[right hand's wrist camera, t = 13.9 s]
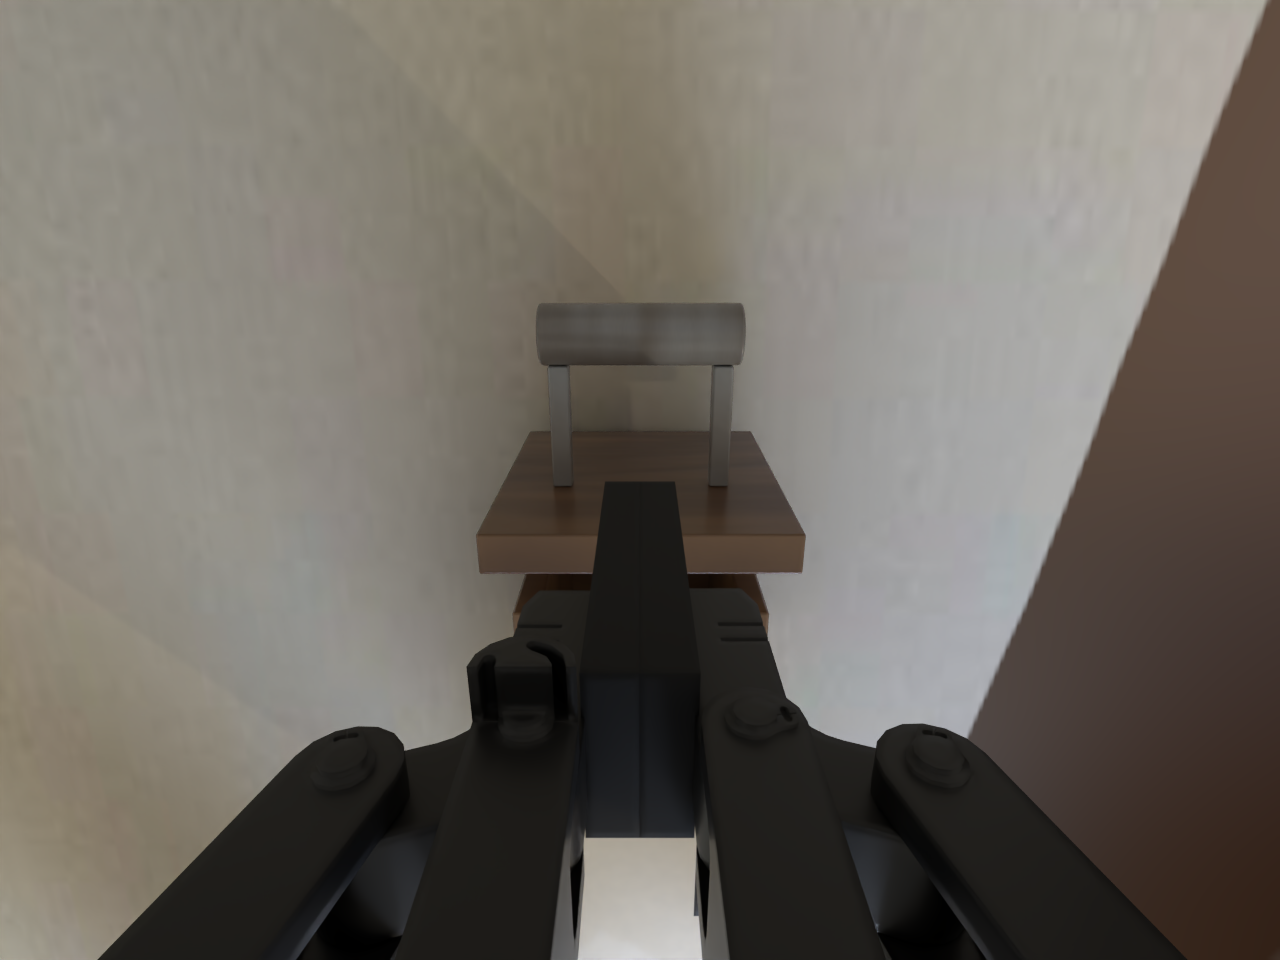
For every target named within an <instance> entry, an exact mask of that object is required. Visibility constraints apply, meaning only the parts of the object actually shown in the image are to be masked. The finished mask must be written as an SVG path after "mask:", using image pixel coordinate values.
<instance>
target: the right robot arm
mask: <svg viewBox="0 0 1280 960" xmlns="http://www.w3.org/2000/svg"><path fill="white" fill-rule="evenodd" d="M467 675H468V684H469V693H470V702H471V711H472V720H473V722H472V725H471V728H470V729H469V730H468V731H466V732H464V733H462V734H460V735H458V736H456V737H454V738H452V739H449V740H446V741H442V742H439V743H436V744H432V745H428V746H423V747H419V748H415V749H411V750H407V751H404V746H403V743H402V742H401V741H400V740H399V739H398V737H397V736H396V735H395V734H394V733H392V732H390V731H387V730H384V729H382V728H379V727H353V728H349V729H344V730H340V731H335V732H333V733H331V734H329V735H327V736H325V737H323V738H320V739H318V740H316V741H314V742H313V743H311V744H310V745H309V746H307V747H306V748H305V749H304V750H302V751H301V752H300V753H299V754H297V755H296V756H295V757H294V758H293V759H292V760H291V761H290V762H289V763H288V764H287V765H286V766H285V767H284V768H283V769H282V770H281V771H280V772H279V773H278V774H277V775H276V776H275V777H274V778H273V779H272V781H271V782H270V783H269V784H268V785H267V786H266V787H265V788H264V789H263V790H262V791H261V792H260V793H259V794H258V795H257V796H256V797H255V798H254V799H253V800H252V801H251V802H250V803H249V804H248V805H247V806H246V807H245V808H244V809H243V810H242V811H241V812H240V813H239V815H238V816H237V817H236V818H235V819H234V820H233V821H232V822H231V823H230V824H229V825H228V826H227V827H226V828H225V829H224V830H223V831H222V832H221V833H220V834H219V835H218V836H217V837H216V838H215V839H214V840H213V841H212V842H211V843H210V844H209V845H208V846H207V847H206V848H205V850H204V851H203V852H202V853H201V854H200V855H199V856H198V857H197V858H196V859H195V860H194V861H193V862H192V863H191V864H190V865H189V866H188V867H187V868H186V869H185V870H184V871H183V872H182V873H181V874H180V875H179V876H178V877H177V878H176V879H175V880H174V881H173V882H172V884H171V885H170V886H169V887H168V888H167V889H166V890H165V891H164V892H163V893H162V894H161V895H160V896H159V897H158V898H157V899H156V900H155V901H154V902H153V903H152V904H151V905H150V906H149V907H148V908H147V909H146V910H145V911H144V912H143V913H142V914H141V915H140V916H139V917H138V919H137V920H136V921H135V922H134V923H133V924H132V925H131V926H130V927H129V928H128V929H127V930H126V931H125V932H124V933H123V934H122V935H121V936H120V937H119V938H118V939H117V940H116V941H115V942H114V943H113V944H112V945H111V946H110V947H109V948H108V949H107V950H106V951H105V953H104V954H103V955H102V956H101V957H100V958H99V959H98V960H578V951H579V938H580V926H581V914H582V902H583V889H584V877H585V870H584V836H585V835H586V838H694V835H695V832H696V843H697V846H696V870H695V895H694V916H699V925H700V938H701V950H702V960H1187V959H1186V958H1185V957H1184V956H1183V955H1182V954H1181V953H1180V952H1179V951H1178V950H1177V949H1176V947H1175V946H1173V944H1172V943H1171V942H1170V941H1169V940H1168V939H1167V938H1166V937H1165V936H1164V935H1163V934H1162V933H1161V932H1160V931H1159V930H1158V929H1157V928H1156V927H1155V926H1154V925H1153V924H1152V923H1151V922H1150V921H1149V920H1148V919H1147V918H1146V917H1145V916H1144V915H1143V914H1142V913H1141V912H1140V911H1139V910H1138V909H1137V908H1136V907H1135V906H1134V905H1133V904H1132V902H1131V901H1130V900H1129V899H1128V898H1127V897H1126V896H1125V895H1124V894H1123V893H1122V892H1121V891H1120V890H1119V889H1118V888H1117V887H1116V886H1115V885H1114V884H1113V883H1112V882H1111V881H1110V880H1109V879H1108V878H1107V877H1106V876H1105V875H1104V874H1103V873H1102V872H1101V871H1100V870H1099V869H1098V868H1097V867H1096V866H1095V865H1094V864H1093V863H1092V862H1091V861H1090V860H1089V859H1088V858H1087V856H1086V855H1085V854H1084V853H1083V852H1082V851H1081V850H1080V849H1079V848H1078V847H1077V846H1076V845H1075V844H1074V843H1073V842H1072V841H1071V840H1070V839H1069V838H1068V837H1067V836H1066V835H1065V834H1064V833H1063V832H1062V831H1061V830H1060V829H1059V828H1058V827H1057V826H1056V825H1055V824H1054V823H1053V822H1052V821H1051V820H1050V819H1049V818H1048V817H1047V816H1046V815H1045V814H1044V813H1043V811H1042V810H1041V809H1040V808H1039V807H1038V806H1037V805H1036V804H1035V803H1034V802H1033V801H1032V800H1031V799H1030V798H1029V797H1028V796H1027V795H1026V794H1025V793H1024V792H1023V791H1022V790H1021V789H1020V788H1019V787H1018V786H1017V785H1016V784H1015V783H1014V782H1013V781H1012V780H1011V779H1010V778H1009V777H1008V776H1007V775H1006V774H1005V773H1004V772H1003V771H1002V770H1001V769H1000V767H998V765H997V764H996V763H995V762H994V761H993V760H992V759H991V758H990V757H989V756H988V755H987V754H986V753H985V752H983V751H982V750H981V749H979V748H978V747H977V746H976V745H974V744H973V743H972V742H971V741H969V740H968V739H966V738H964V737H962V736H960V735H958V734H956V733H954V732H951V731H949V730H947V729H945V728H940V727H936V726H931V725H927V724H902V725H899V726H896V727H894V728H891V729H889V730H886V731H885V733H884V734H883V735H882V736H881V737H880V739H879V740H878V741H877V746H876V748H872V747H868V746H864V745H860V744H856V743H851V742H847V741H843V740H840V739H837V738H834V737H831V736H827V735H825V734H823V733H821V732H819V731H817V730H815V729H813V728H812V727H810V726H809V724H808V721H807V720H806V718H805V716H804V715H803V713H802V712H801V710H800V708H799V707H798V706H796V705H795V704H794V703H792V702H791V701H790V700H788V699H787V698H786V696H785V692H784V689H783V686H782V682H781V679H780V676H779V673H778V669H777V666H776V663H775V660H774V656H773V653H772V650H771V647H770V643H769V641H768V637H767V634H766V630H765V627H764V626H763V621H762V617H761V614H760V611H759V607H758V604H757V603H756V602H755V601H754V600H753V599H752V598H750V597H749V596H748V595H747V594H746V593H745V592H744V591H743V590H742V589H741V588H689V582H688V574H687V567H686V560H685V552H684V545H683V537H682V530H681V522H680V515H679V508H678V500H677V493H676V485H675V481H605V485H604V493H603V500H602V508H601V515H600V522H599V530H598V537H597V545H596V552H595V560H594V567H593V574H592V582H591V589H590V590H539V591H538V592H537V593H536V594H535V595H534V596H533V597H532V598H531V599H530V600H529V601H528V602H527V603H526V604H525V605H523V607H522V610H521V613H520V617H519V620H518V623H517V628H516V630H515V633H514V636H513V637H509V638H507V639H504V640H501V641H498V642H495V643H492V644H490V645H488V646H487V647H485V648H484V649H482V650H481V651H479V652H478V653H476V654H475V656H474V657H473V658H472V660H471V661H470V663H469V664H468V665H467Z"/></svg>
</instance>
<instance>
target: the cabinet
mask: <svg viewBox="0 0 1280 960" xmlns="http://www.w3.org/2000/svg"><path fill="white" fill-rule="evenodd" d="M696 846H697V843H696V832H695V835H694V838H586V835H585V836H584V870H585V877H584V889H583V902H582V914H581V926H580V938H579V951H578V960H702V950H701V938H700V925H699V916H694V895H695V870H696Z"/></svg>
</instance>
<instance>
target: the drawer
mask: <svg viewBox="0 0 1280 960" xmlns="http://www.w3.org/2000/svg"><path fill="white" fill-rule="evenodd" d="M745 333H746V324H745V311H744V307H743V305H742V304H741V303H541V304H539V306H538V309H537V316H536V343H537V352H538V357H539V361H540V363H541V364H542V365H549V366H548V386H549V406H550V427H551V432H530V433H529V435H528V437H527V439H526V441H525V443H524V445H523V447H522V449H521V451H520V453H519V454H518V456H517V458H516V460H515V462H514V464H513V466H512V468H511V470H510V472H509V474H508V475H507V477H506V479H505V481H504V483H503V485H502V487H501V489H500V491H499V493H498V495H497V496H496V498H495V500H494V502H493V504H492V506H491V508H490V510H489V512H488V514H487V516H486V518H485V519H484V521H483V523H482V525H481V527H480V529H479V531H478V533H477V535H476V540H477V551H478V561H479V571H480V573H481V574H525V578H524V581H523V584H522V587H521V590H520V593H519V596H518V599H517V602H516V605H515V608H514V611H513V625H514V633H515V630H516V628H517V623H518V620H519V617H520V613H521V610H522V607H523V605H525V604H526V603H527V602H528V601H529V600H530V599H531V598H532V597H533V596H534V595H535V594H536V593H537V592H538V591H539V590H590V589H591V582H592V574H593V567H594V560H595V552H596V545H597V537H598V530H599V522H600V515H601V508H602V500H603V493H604V485H605V481H675V485H676V493H677V500H678V508H679V515H680V522H681V530H682V537H683V545H684V552H685V560H686V567H687V574H688V582H689V588H741V589H742V590H743V591H744V592H745V593H746V594H747V595H748V596H749V597H750V598H752V599H753V600H754V601H755V602H756V603H757V604H758V607H759V611H760V614H761V617H762V621H763V626H764V627H765V630H766V634H767V633H768V620H769V613H768V610H767V607H766V603H765V600H764V597H763V594H762V591H761V588H760V585H759V582H758V579H757V576H756V574H800V573H802V569H803V558H804V548H805V537H806V535H805V533H804V531H803V529H802V527H801V526H800V524H799V522H798V520H797V518H796V516H795V514H794V512H793V510H792V509H791V507H790V505H789V503H788V501H787V499H786V497H785V495H784V493H783V492H782V490H781V488H780V486H779V484H778V482H777V480H776V478H775V476H774V474H773V473H772V471H771V469H770V467H769V465H768V463H767V461H766V459H765V457H764V456H763V454H762V452H761V450H760V448H759V446H758V444H757V442H756V440H755V438H754V437H753V435H752V433H751V432H750V431H731V416H732V396H733V375H734V368H733V366H732V365H739V364H741V362H742V359H743V355H744V348H745ZM569 365H712V379H711V406H710V431H634V432H572V418H571V392H570V366H569Z"/></svg>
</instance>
